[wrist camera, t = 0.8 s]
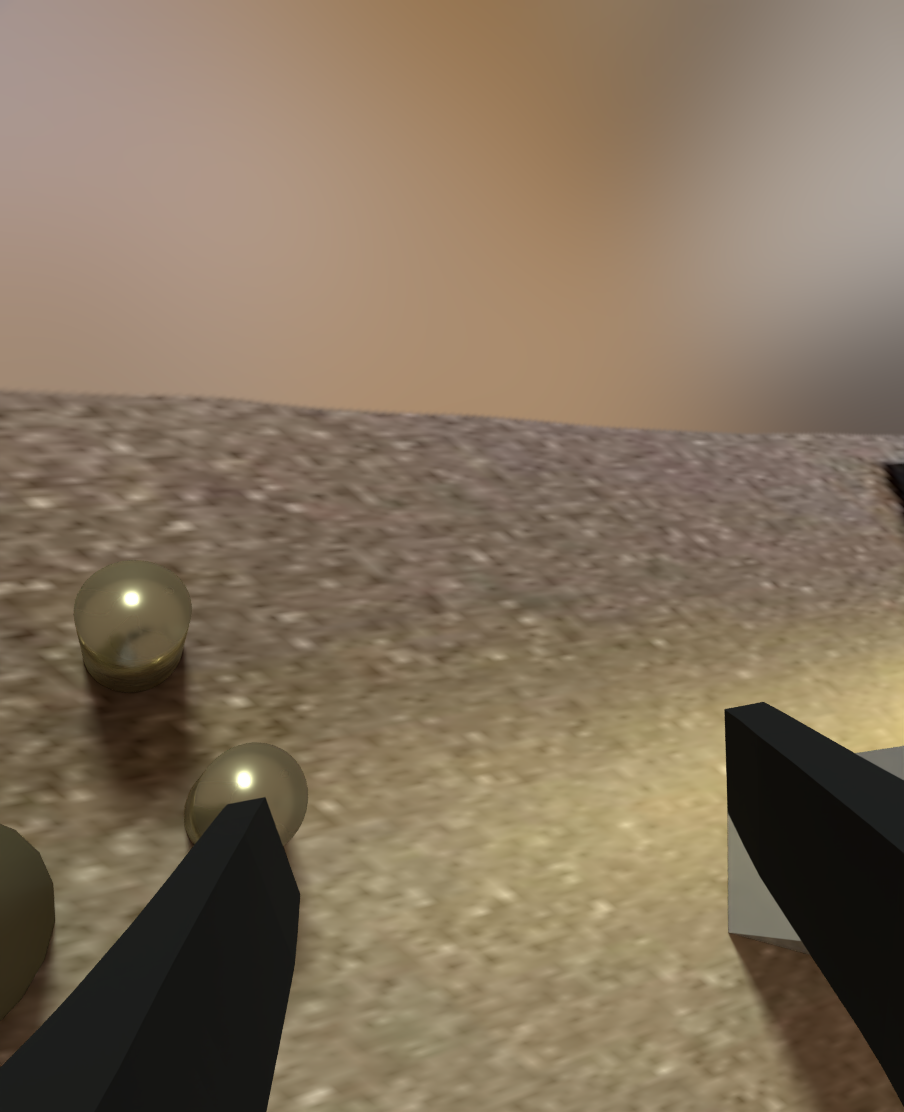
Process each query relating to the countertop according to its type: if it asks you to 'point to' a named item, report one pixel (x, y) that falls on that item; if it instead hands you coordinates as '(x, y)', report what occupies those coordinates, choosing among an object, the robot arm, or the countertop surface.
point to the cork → (22, 916)
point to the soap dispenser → (751, 898)
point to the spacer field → (149, 659)
